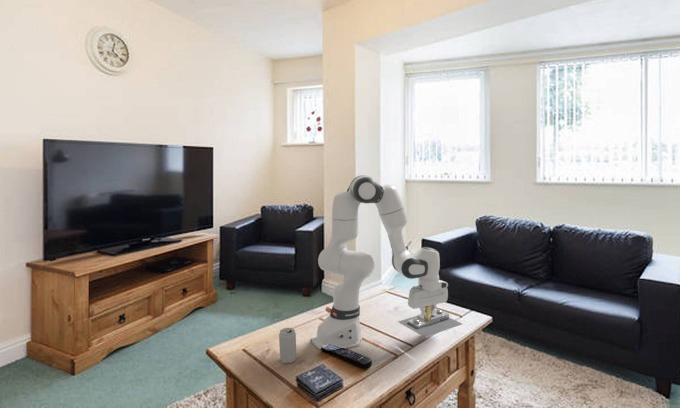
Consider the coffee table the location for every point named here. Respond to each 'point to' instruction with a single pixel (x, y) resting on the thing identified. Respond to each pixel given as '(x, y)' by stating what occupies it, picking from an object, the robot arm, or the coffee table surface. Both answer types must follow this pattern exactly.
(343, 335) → the robot arm
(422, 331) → the gray base plate
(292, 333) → the beverage can
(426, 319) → the brass pin
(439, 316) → the slotted latch plate
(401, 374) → the coffee table surface
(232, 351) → the coffee table surface
